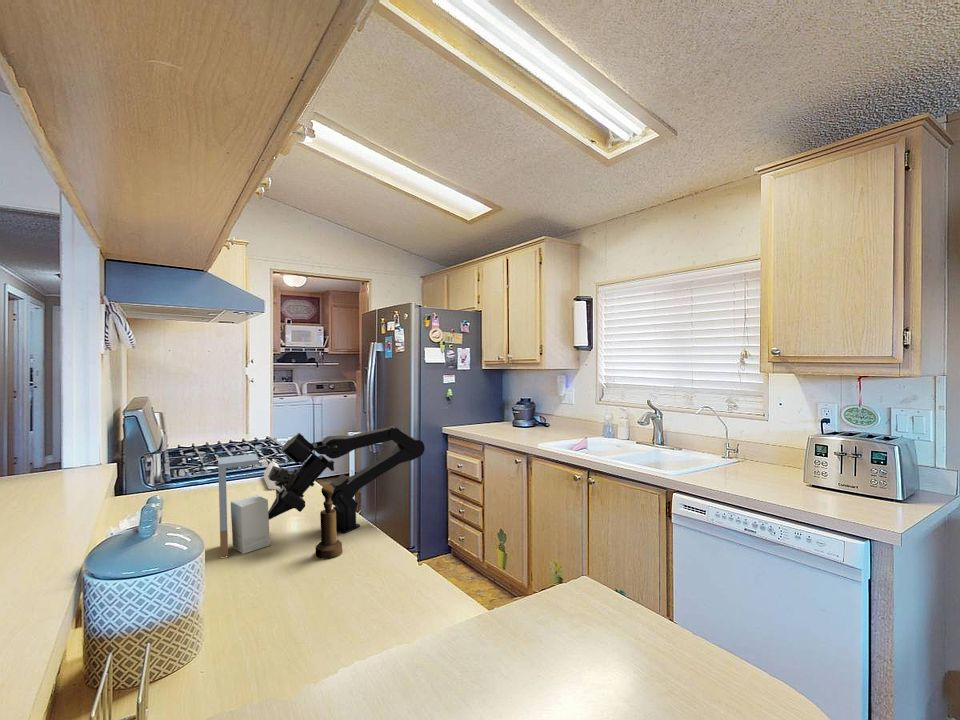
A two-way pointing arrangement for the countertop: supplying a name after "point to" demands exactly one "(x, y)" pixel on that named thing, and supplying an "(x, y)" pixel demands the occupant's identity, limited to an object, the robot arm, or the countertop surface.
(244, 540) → the supplement box
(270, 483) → the white faceted cylinder
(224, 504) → the inverted l-shaped post
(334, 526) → the brown chess piece
